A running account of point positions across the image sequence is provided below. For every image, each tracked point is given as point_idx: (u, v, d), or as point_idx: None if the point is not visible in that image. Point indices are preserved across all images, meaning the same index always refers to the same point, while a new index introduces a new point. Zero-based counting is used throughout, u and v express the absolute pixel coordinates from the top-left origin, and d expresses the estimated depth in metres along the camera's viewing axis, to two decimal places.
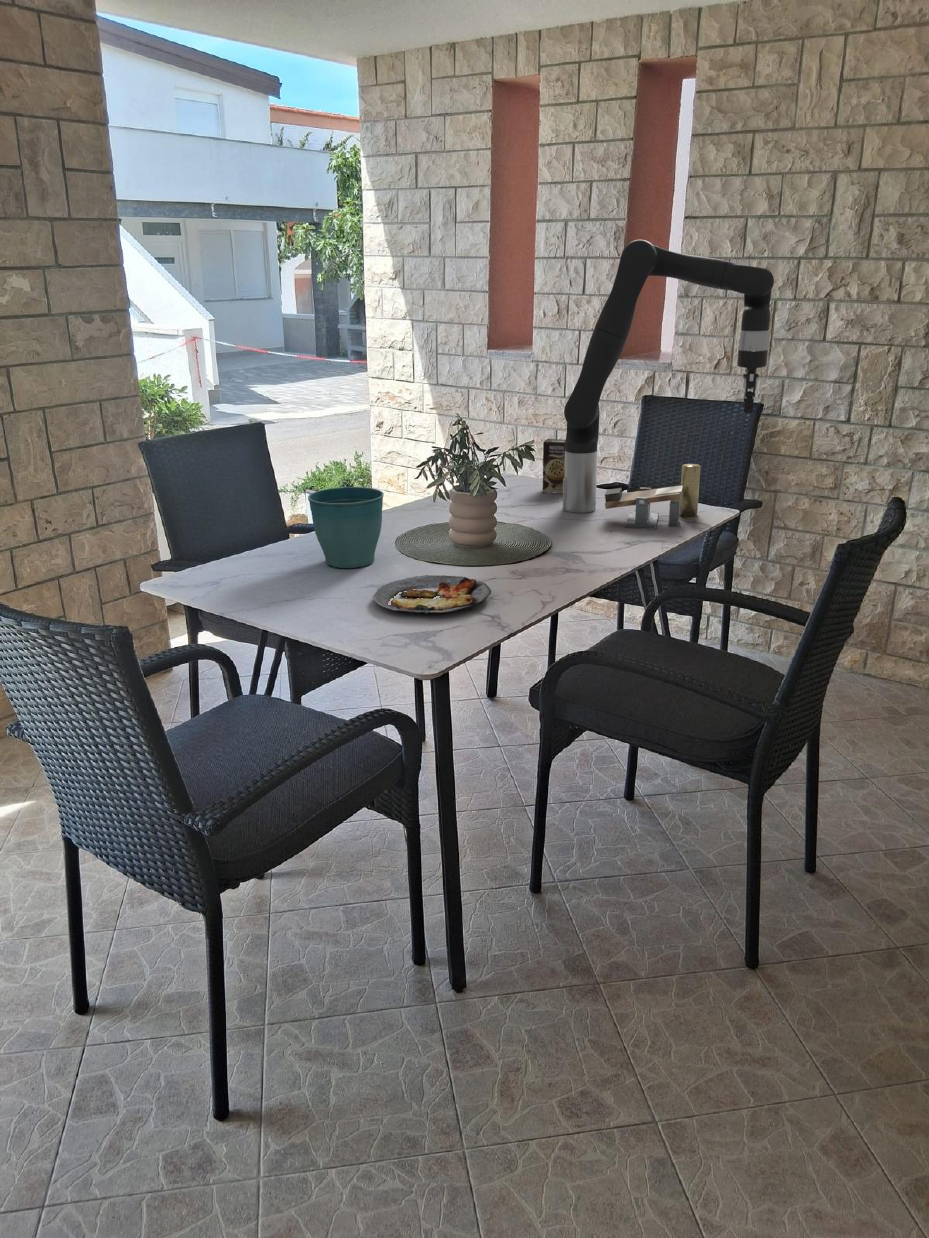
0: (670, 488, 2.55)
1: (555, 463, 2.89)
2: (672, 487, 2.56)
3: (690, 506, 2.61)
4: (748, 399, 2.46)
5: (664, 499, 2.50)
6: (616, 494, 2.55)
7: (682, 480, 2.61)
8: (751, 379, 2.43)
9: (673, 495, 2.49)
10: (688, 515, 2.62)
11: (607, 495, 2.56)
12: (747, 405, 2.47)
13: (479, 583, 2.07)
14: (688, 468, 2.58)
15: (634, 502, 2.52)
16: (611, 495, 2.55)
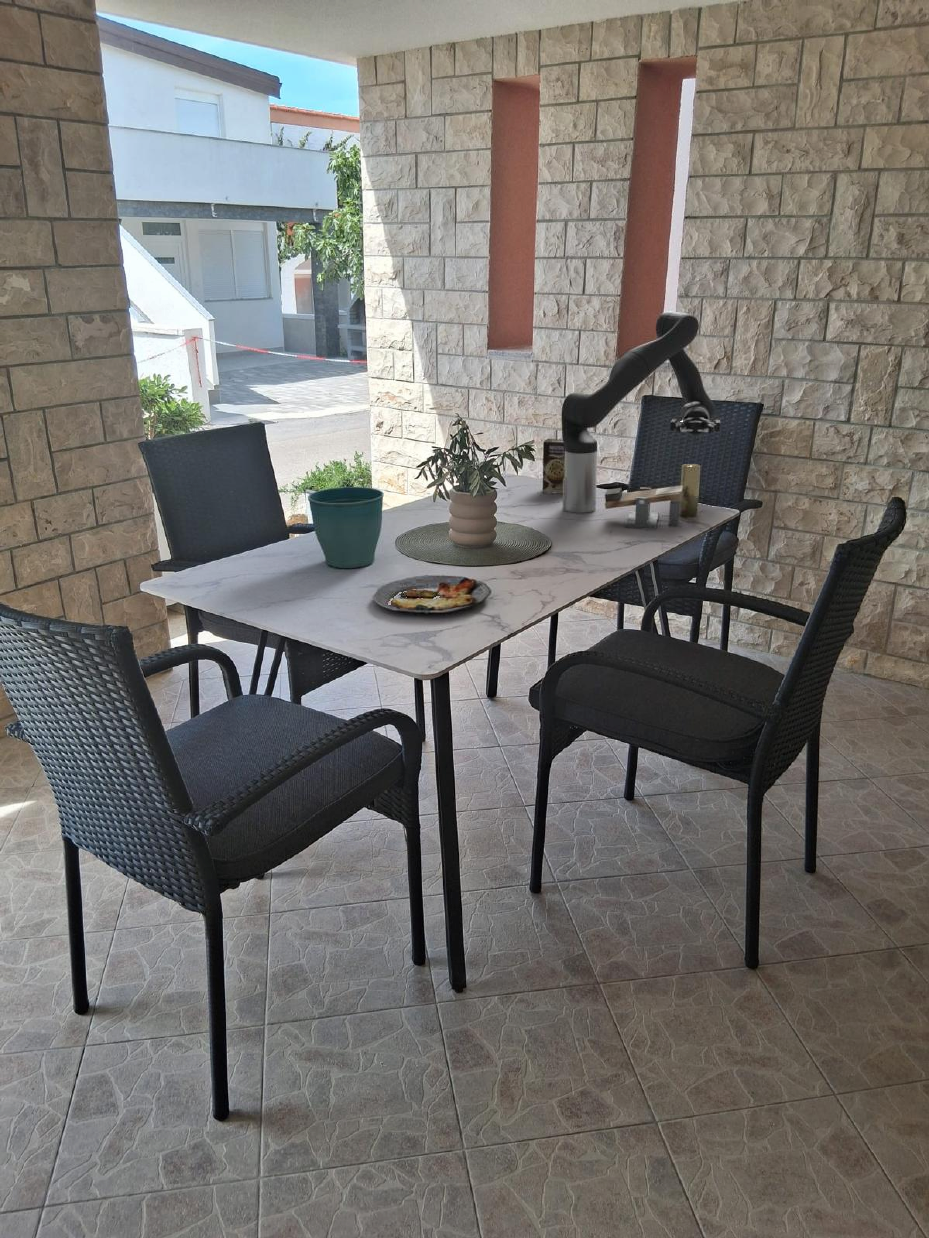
0: (670, 488, 2.55)
1: (555, 463, 2.89)
2: (672, 487, 2.56)
3: (690, 506, 2.61)
4: (714, 426, 2.70)
5: (664, 499, 2.50)
6: (616, 494, 2.55)
7: (682, 480, 2.61)
8: None
9: (673, 495, 2.49)
10: (688, 515, 2.62)
11: (607, 495, 2.56)
12: (713, 427, 2.68)
13: (479, 583, 2.07)
14: (688, 468, 2.58)
15: (634, 502, 2.52)
16: (611, 495, 2.55)
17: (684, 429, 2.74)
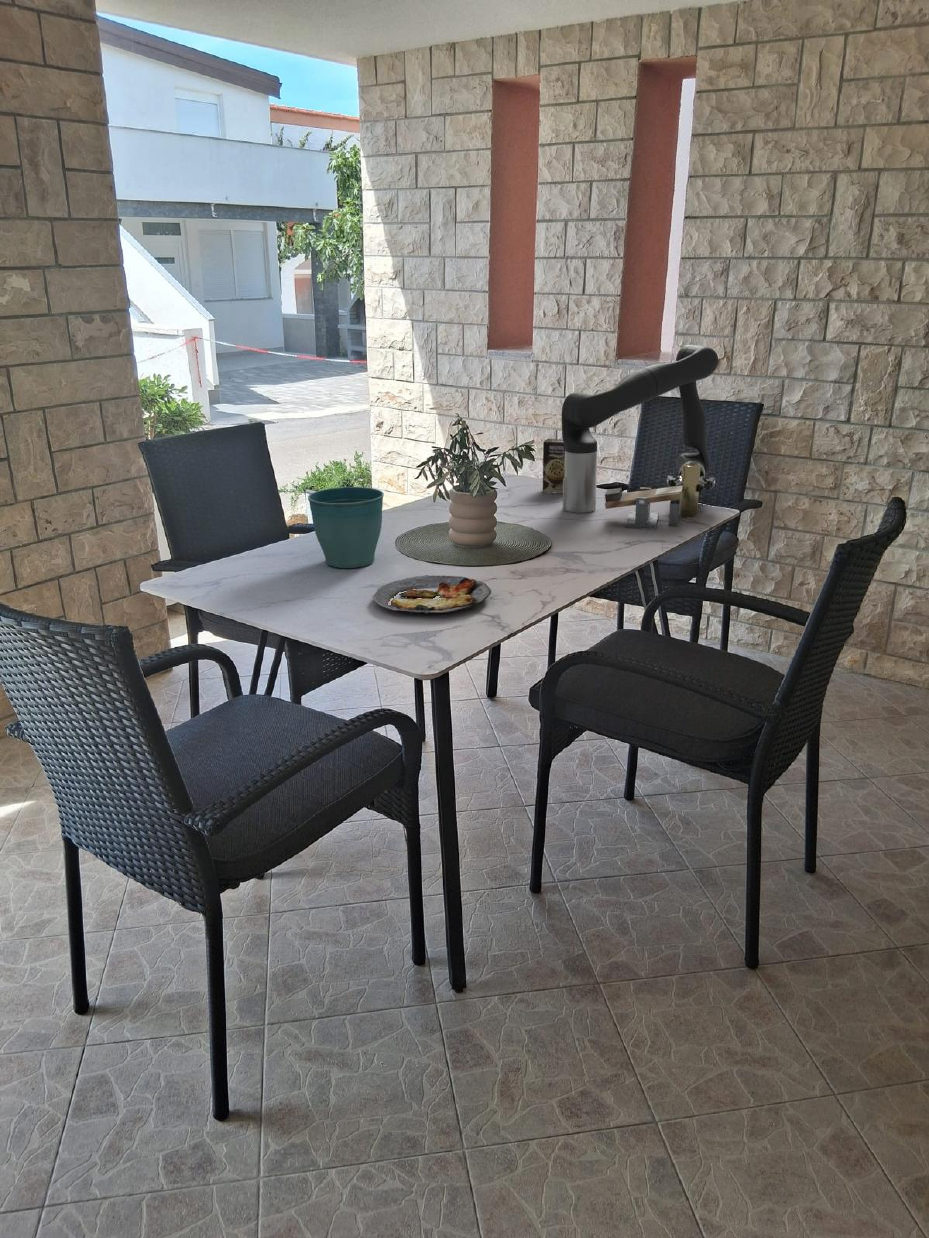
0: (670, 488, 2.55)
1: (555, 463, 2.89)
2: (672, 487, 2.56)
3: (690, 506, 2.61)
4: (704, 485, 2.62)
5: (664, 499, 2.50)
6: (616, 494, 2.55)
7: (682, 480, 2.60)
8: (714, 482, 2.66)
9: (673, 495, 2.49)
10: (688, 515, 2.62)
11: (607, 495, 2.56)
12: (704, 486, 2.61)
13: (479, 583, 2.07)
14: (688, 468, 2.58)
15: (634, 502, 2.52)
16: (611, 495, 2.55)
17: None
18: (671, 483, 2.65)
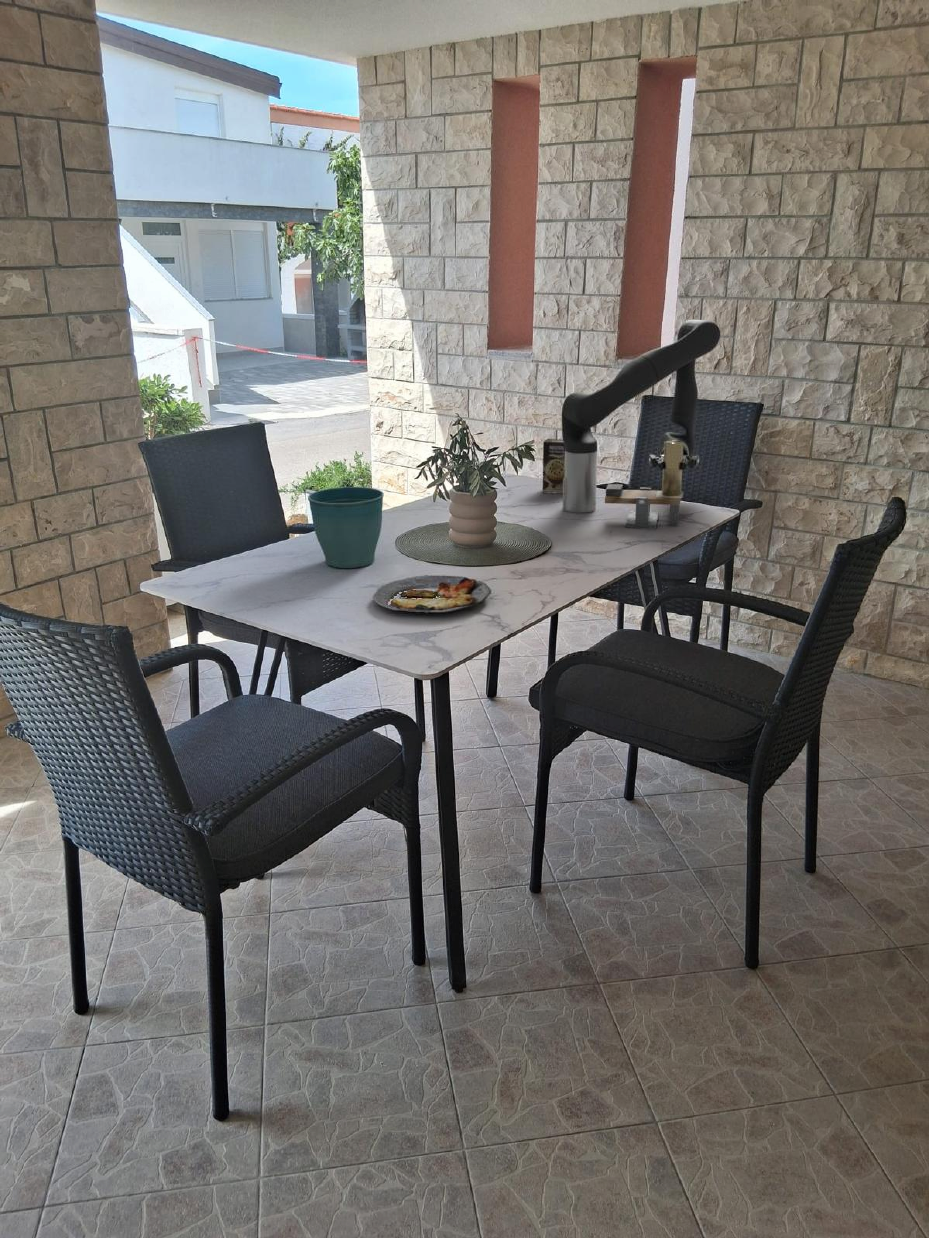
0: None
1: (555, 463, 2.89)
2: None
3: (673, 485, 2.51)
4: (687, 463, 2.52)
5: (664, 502, 2.50)
6: (617, 490, 2.54)
7: (664, 458, 2.50)
8: (698, 460, 2.56)
9: (673, 500, 2.49)
10: (671, 494, 2.52)
11: (608, 490, 2.55)
12: (687, 463, 2.50)
13: (479, 583, 2.07)
14: (670, 445, 2.47)
15: (634, 500, 2.52)
16: (612, 490, 2.55)
17: None
18: (653, 462, 2.55)
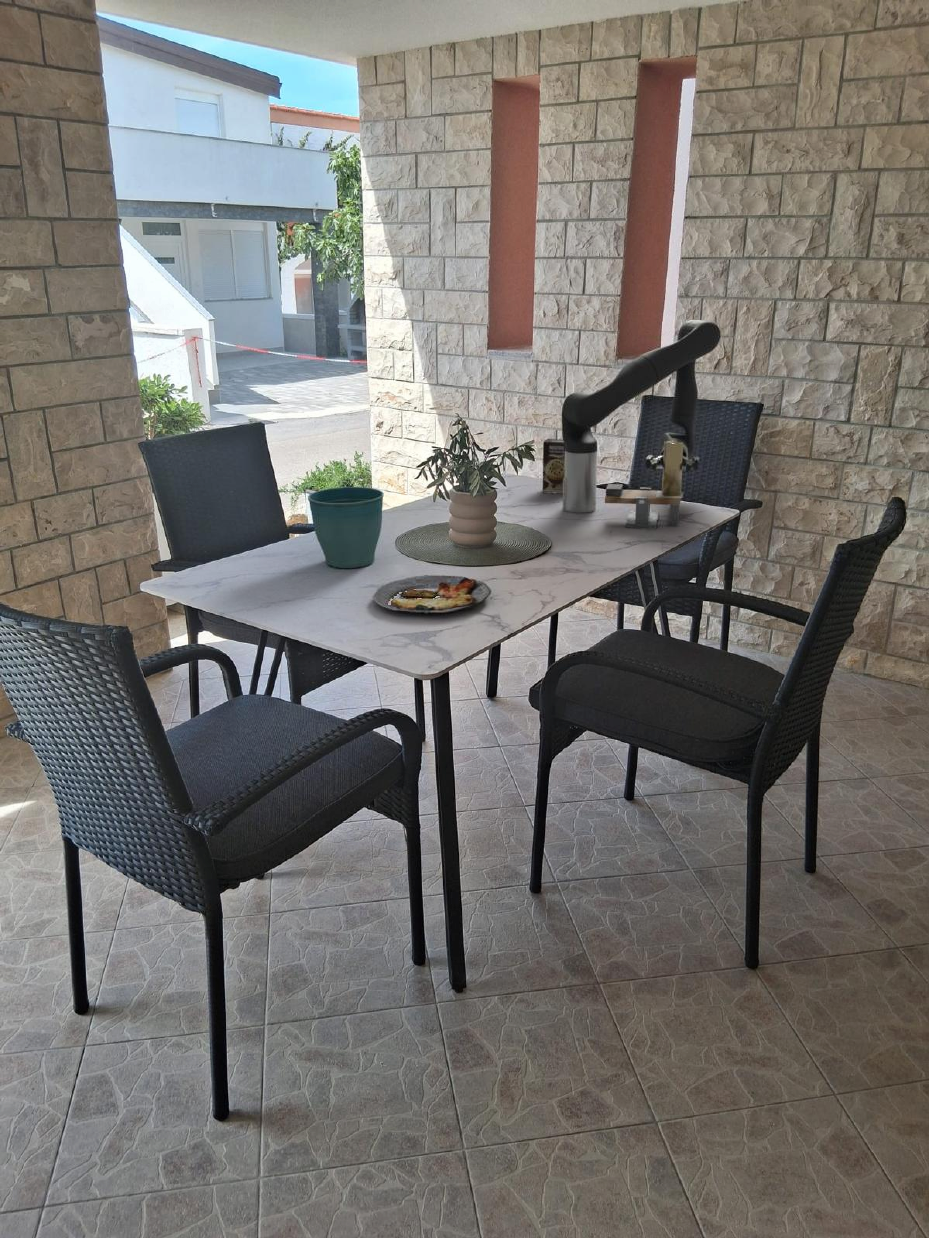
0: None
1: (555, 463, 2.89)
2: None
3: (673, 485, 2.51)
4: (692, 464, 2.52)
5: (664, 503, 2.50)
6: (617, 490, 2.54)
7: (664, 458, 2.50)
8: None
9: (673, 500, 2.49)
10: (671, 494, 2.52)
11: (608, 490, 2.55)
12: (691, 465, 2.51)
13: (479, 583, 2.07)
14: (670, 445, 2.47)
15: (634, 500, 2.52)
16: (612, 490, 2.55)
17: (660, 466, 2.57)
18: (646, 462, 2.56)
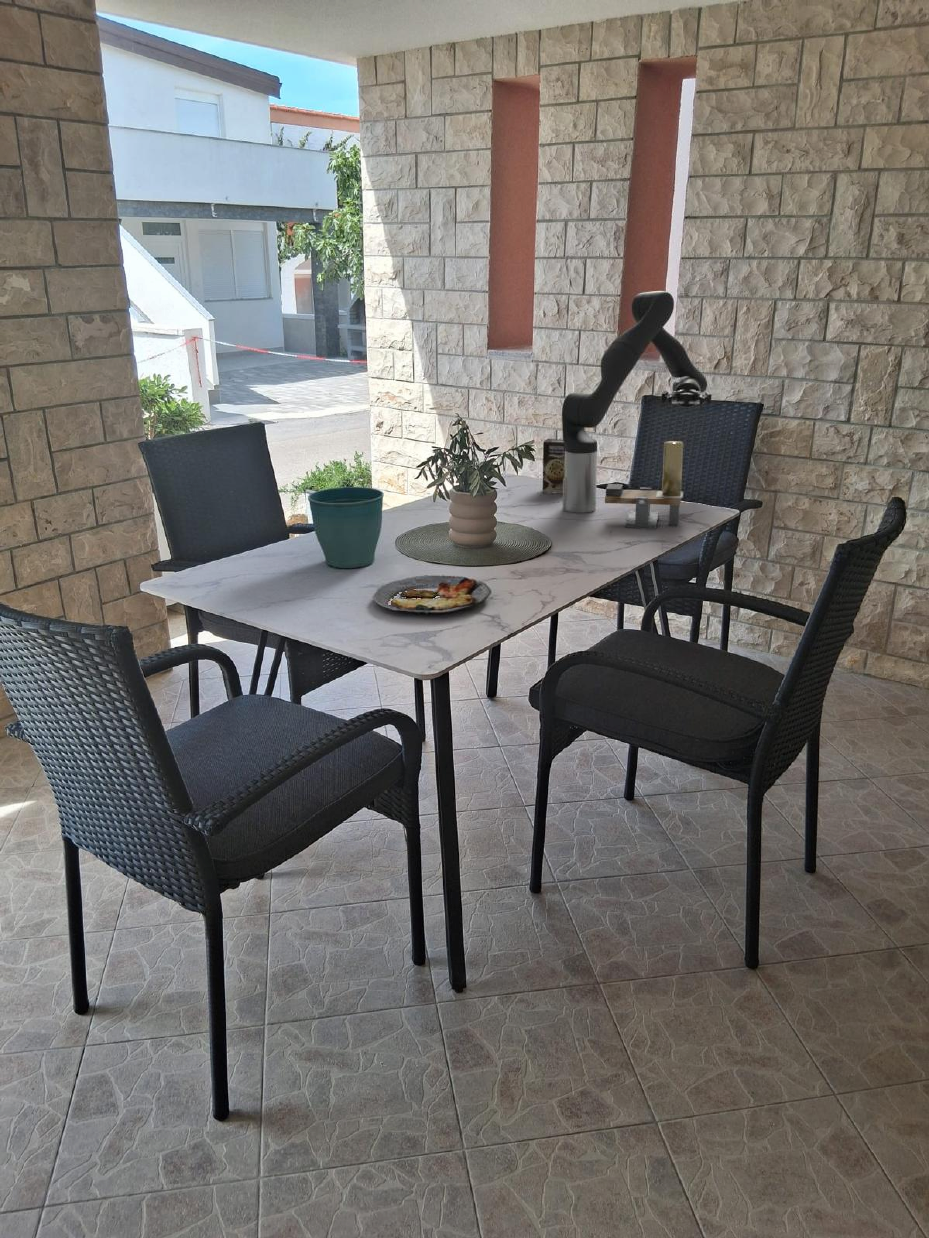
0: None
1: (555, 463, 2.89)
2: None
3: (673, 485, 2.51)
4: (705, 398, 2.69)
5: (664, 503, 2.50)
6: (617, 490, 2.54)
7: (664, 458, 2.50)
8: None
9: (673, 500, 2.49)
10: (671, 494, 2.52)
11: (608, 490, 2.55)
12: (704, 398, 2.67)
13: (479, 583, 2.07)
14: (670, 445, 2.47)
15: (634, 500, 2.52)
16: (612, 490, 2.55)
17: (675, 401, 2.73)
18: (662, 397, 2.72)
